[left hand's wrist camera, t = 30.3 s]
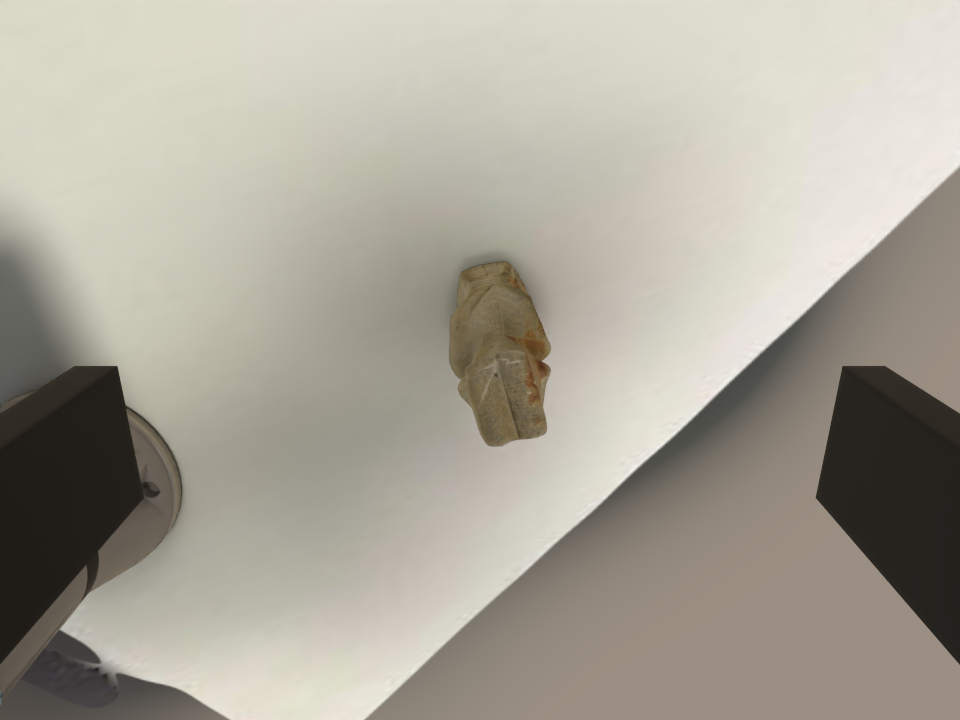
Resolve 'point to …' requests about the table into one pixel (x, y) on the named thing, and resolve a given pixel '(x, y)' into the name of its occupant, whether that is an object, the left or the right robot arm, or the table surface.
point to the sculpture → (499, 354)
